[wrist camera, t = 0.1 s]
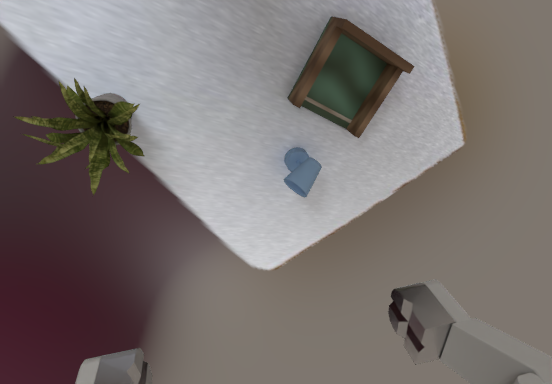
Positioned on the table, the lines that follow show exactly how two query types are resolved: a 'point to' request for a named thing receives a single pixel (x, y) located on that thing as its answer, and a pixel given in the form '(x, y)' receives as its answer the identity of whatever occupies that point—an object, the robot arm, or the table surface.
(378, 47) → the wooden display tray
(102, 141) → the house plant
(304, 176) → the spotlight
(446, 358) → the robot arm
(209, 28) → the table surface
